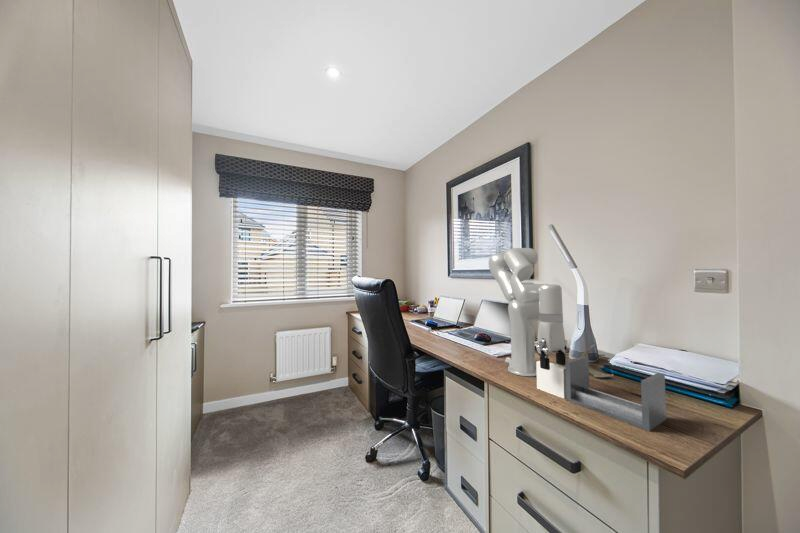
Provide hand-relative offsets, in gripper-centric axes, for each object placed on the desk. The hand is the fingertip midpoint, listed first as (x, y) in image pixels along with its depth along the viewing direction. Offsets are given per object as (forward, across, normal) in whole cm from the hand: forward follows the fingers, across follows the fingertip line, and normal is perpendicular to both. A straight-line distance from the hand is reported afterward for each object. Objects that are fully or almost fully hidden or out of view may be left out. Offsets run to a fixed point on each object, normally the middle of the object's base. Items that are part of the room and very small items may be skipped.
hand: (553, 366), depth 100 cm
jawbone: (+9, -33, -4) cm, 35 cm away
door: (+10, -1, -1) cm, 10 cm away
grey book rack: (+10, -5, +16) cm, 19 cm away
